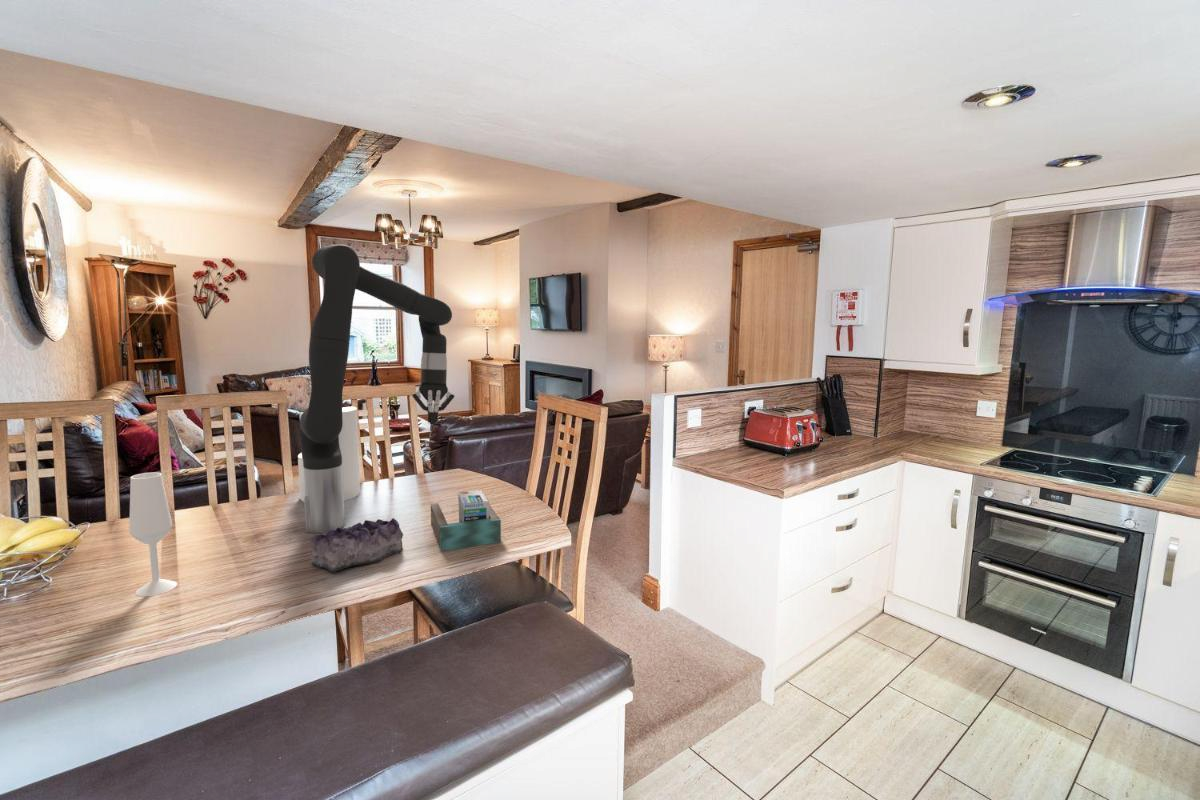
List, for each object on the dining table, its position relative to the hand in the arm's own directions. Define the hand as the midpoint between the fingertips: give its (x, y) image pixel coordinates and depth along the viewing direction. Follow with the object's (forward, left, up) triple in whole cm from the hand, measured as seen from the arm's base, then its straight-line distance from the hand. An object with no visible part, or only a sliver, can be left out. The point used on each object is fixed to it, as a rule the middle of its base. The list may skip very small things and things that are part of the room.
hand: (432, 424), depth 164 cm
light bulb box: (+6, -31, -25) cm, 41 cm away
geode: (-21, -36, -25) cm, 49 cm away
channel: (+4, -29, -25) cm, 39 cm away
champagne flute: (-60, -37, -25) cm, 75 cm away
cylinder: (-30, +18, -25) cm, 43 cm away
